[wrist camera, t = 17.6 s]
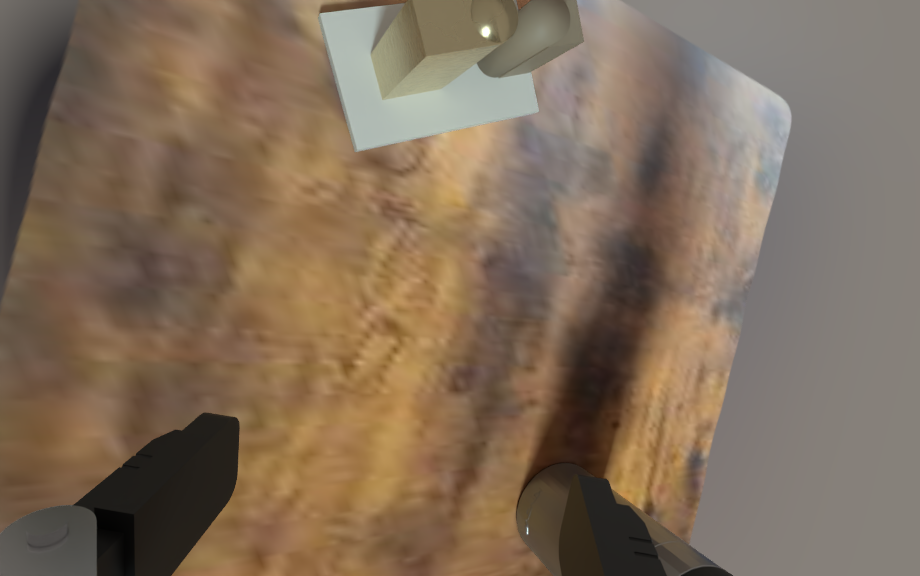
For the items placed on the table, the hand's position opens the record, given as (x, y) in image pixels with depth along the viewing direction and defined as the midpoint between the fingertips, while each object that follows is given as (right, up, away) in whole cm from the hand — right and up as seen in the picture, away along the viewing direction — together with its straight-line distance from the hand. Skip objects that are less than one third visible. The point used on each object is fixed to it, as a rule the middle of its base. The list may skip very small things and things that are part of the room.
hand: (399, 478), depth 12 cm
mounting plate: (-1, +22, +30) cm, 38 cm away
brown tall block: (-3, +21, +29) cm, 36 cm away
